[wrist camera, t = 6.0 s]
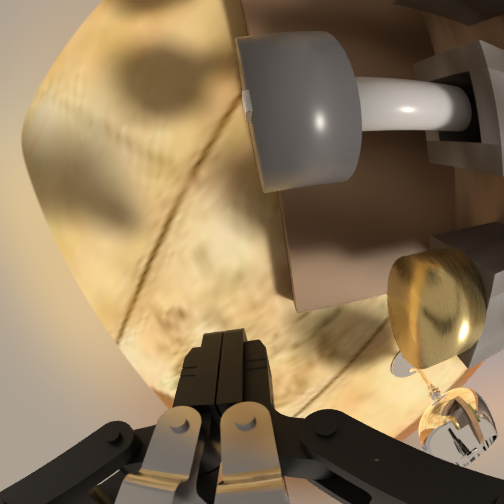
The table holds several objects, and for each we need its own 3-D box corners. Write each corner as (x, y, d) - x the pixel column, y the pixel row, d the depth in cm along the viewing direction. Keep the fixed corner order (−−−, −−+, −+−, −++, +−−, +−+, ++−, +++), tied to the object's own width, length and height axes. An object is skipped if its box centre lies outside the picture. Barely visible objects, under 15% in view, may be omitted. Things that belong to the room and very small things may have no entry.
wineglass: (425, 375, 22) (477, 460, 11) (378, 386, 22) (424, 488, 11) (444, 329, 20) (516, 417, 9) (394, 339, 20) (463, 449, 9)
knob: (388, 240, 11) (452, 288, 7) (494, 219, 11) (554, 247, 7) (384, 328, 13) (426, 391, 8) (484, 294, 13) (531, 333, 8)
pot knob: (233, 67, 9) (225, 9, 4) (412, 63, 9) (482, 37, 4) (255, 184, 11) (263, 208, 6) (429, 164, 10) (506, 179, 6)
